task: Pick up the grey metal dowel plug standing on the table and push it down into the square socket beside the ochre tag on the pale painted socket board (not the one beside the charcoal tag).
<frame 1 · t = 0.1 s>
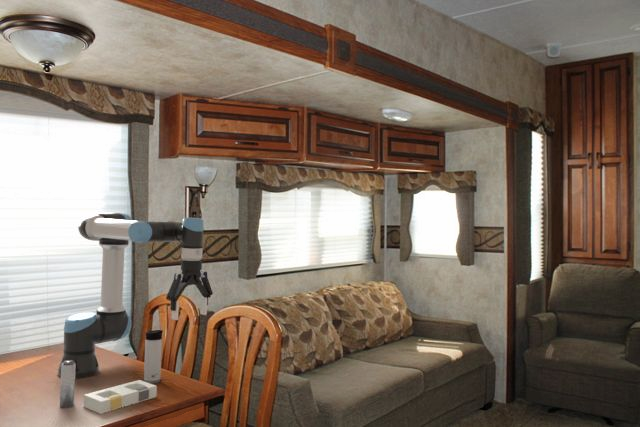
hand: (189, 317, 203), 28 cm above the table, fingers open, 13 cm apart
socket board: (121, 401, 191), on the table
travel mug: (152, 381, 214), on the table
plug: (66, 405, 185), on the table
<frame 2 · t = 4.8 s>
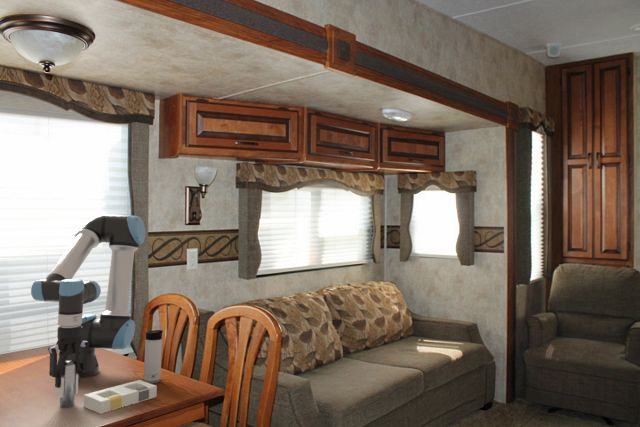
hand: (67, 394, 185), 4 cm above the table, fingers closed on plug, 4 cm apart
plug: (66, 405, 185), on the table, touching gripper
everything else where it was.
when the fingers open (6 cm above the table, at t = 9.6 s): plug drops 2 cm, resting in socket board.
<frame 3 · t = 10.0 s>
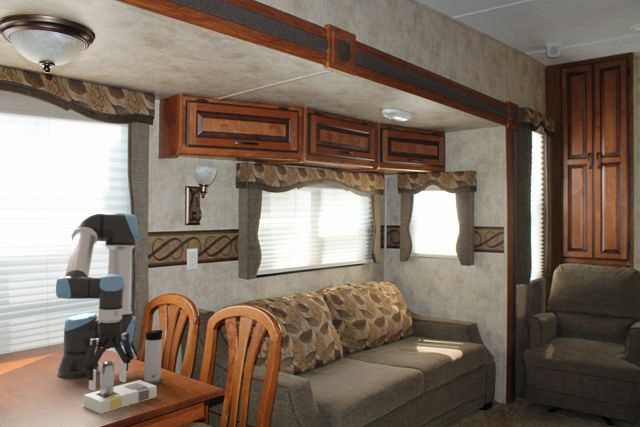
hand: (107, 385, 186), 7 cm above the table, fingers open, 11 cm apart
plug: (106, 405, 186), resting in socket board
everything else where it was.
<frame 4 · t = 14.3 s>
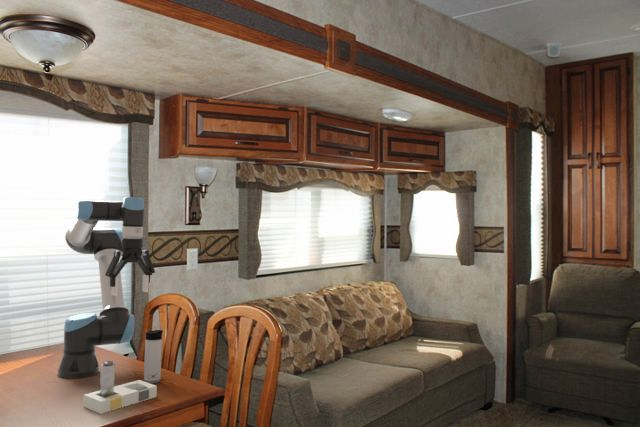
hand: (130, 293, 209), 35 cm above the table, fingers open, 13 cm apart
nothing on the table moved.
at the end: plug 0.1 cm from the target spot on the socket board, point 0.0 cm above the socket board's base; plug tilted 1°; the gripper is holding nothing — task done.
